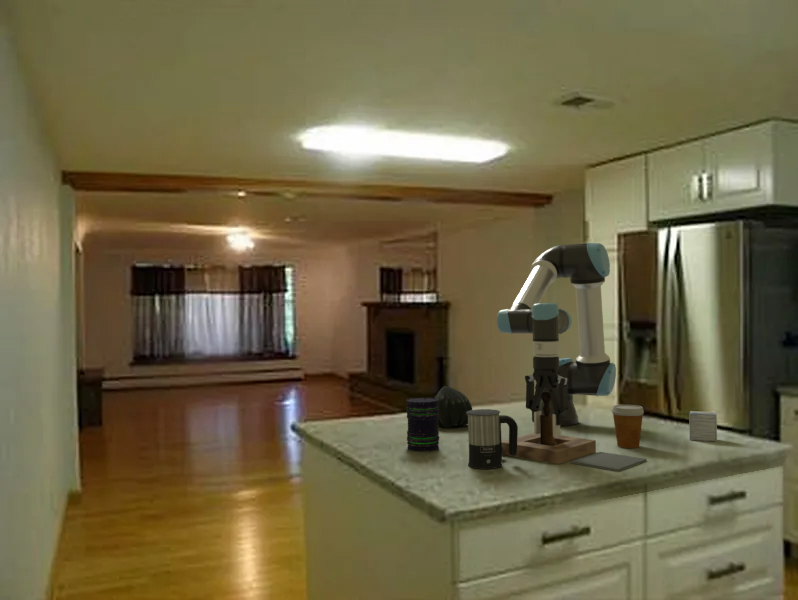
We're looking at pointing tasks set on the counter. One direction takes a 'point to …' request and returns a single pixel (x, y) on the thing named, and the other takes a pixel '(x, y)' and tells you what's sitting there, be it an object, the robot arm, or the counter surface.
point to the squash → (452, 407)
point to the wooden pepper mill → (546, 422)
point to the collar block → (551, 448)
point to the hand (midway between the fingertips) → (547, 434)
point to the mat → (608, 461)
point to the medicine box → (703, 426)
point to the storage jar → (422, 424)
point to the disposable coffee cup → (628, 425)
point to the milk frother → (489, 438)
